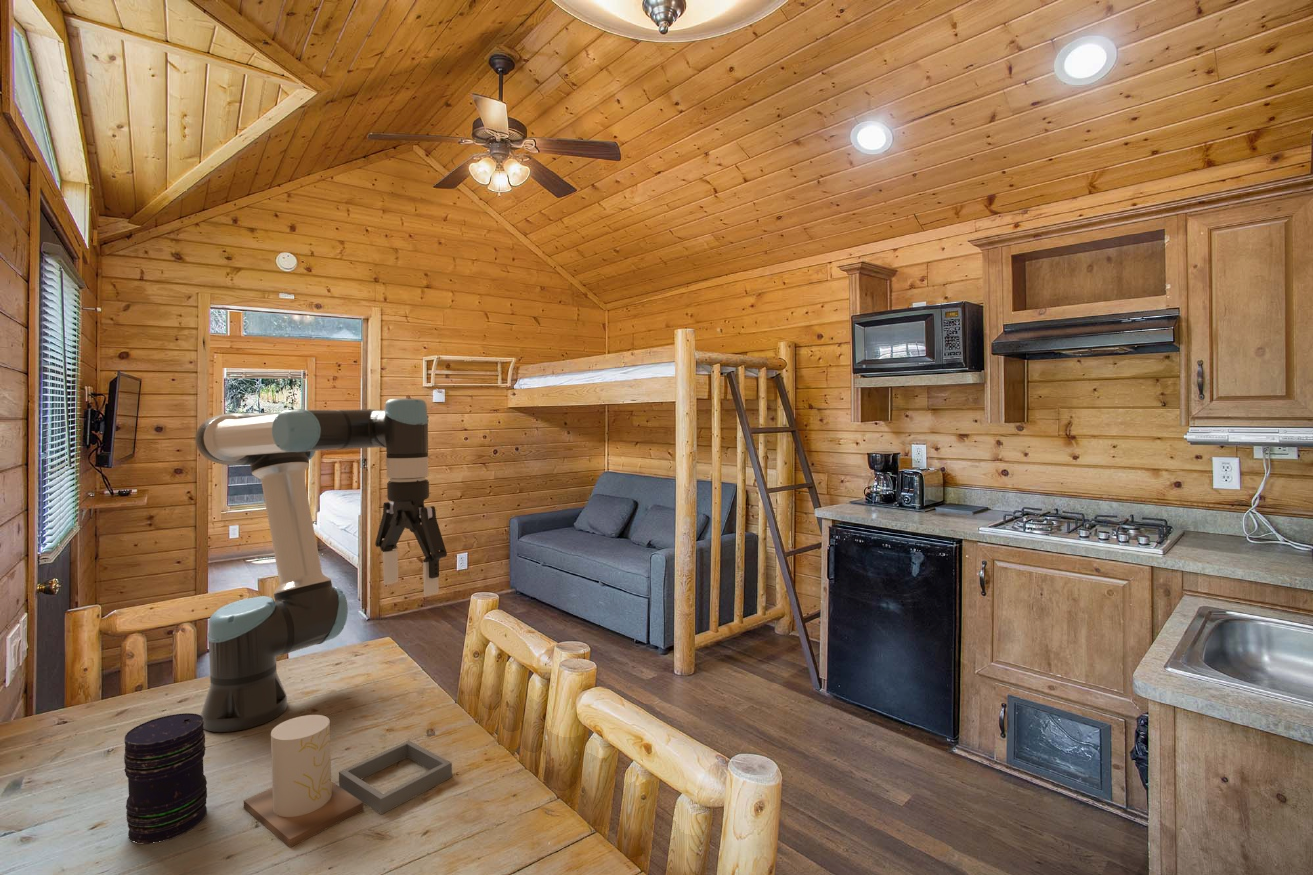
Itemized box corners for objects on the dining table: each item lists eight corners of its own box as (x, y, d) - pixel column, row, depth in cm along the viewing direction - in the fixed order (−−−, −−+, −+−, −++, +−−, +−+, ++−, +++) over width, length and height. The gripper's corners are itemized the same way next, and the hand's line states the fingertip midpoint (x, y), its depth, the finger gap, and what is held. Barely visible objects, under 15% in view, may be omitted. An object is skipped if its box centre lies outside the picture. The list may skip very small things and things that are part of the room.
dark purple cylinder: (143, 853, 93) (139, 751, 92) (115, 830, 98) (111, 733, 97) (220, 816, 101) (216, 722, 100) (190, 796, 106) (187, 707, 106)
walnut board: (243, 807, 103) (243, 800, 103) (314, 776, 112) (314, 769, 112) (289, 847, 94) (289, 839, 94) (363, 809, 102) (362, 802, 102)
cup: (306, 819, 98) (304, 742, 98) (260, 813, 100) (258, 737, 99) (342, 788, 106) (340, 717, 105) (299, 783, 108) (297, 712, 107)
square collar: (339, 786, 109) (338, 771, 109) (409, 753, 119) (408, 740, 119) (381, 814, 101) (380, 799, 101) (452, 776, 111) (451, 762, 111)
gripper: (464, 481, 120) (467, 594, 121) (390, 474, 135) (392, 575, 136) (429, 485, 114) (431, 604, 115) (355, 477, 129) (357, 583, 130)
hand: (410, 589), depth 125 cm, fingers open, 13 cm apart
